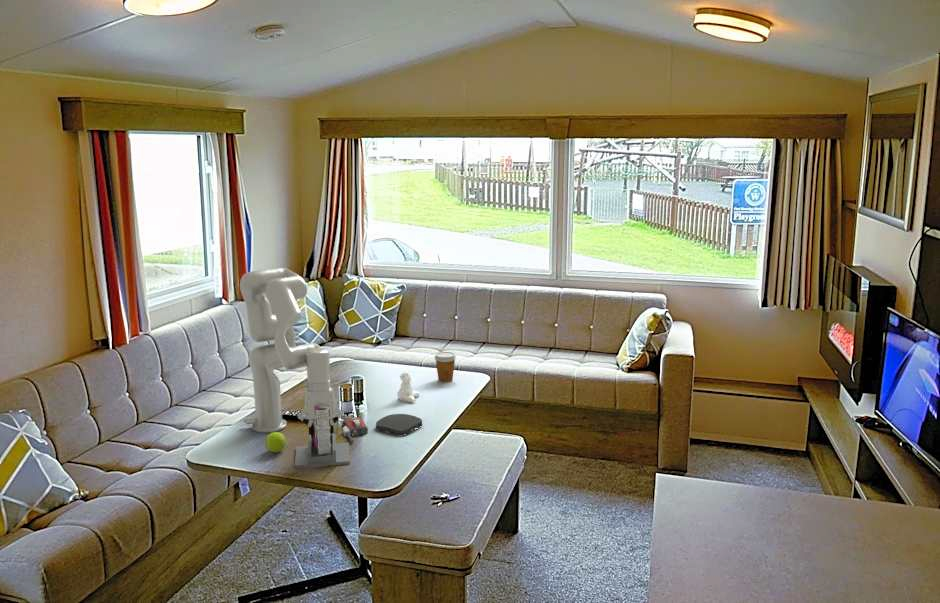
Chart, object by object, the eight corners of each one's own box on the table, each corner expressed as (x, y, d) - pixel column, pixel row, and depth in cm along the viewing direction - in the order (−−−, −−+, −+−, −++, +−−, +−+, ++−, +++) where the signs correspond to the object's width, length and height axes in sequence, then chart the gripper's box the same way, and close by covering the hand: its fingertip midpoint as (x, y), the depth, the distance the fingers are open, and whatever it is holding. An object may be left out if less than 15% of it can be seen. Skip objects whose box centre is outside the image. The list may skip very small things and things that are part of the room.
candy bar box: (312, 443, 264) (310, 398, 261) (326, 441, 266) (324, 396, 262) (317, 456, 254) (315, 409, 250) (332, 453, 255) (330, 407, 252)
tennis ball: (266, 456, 260) (264, 437, 259) (265, 449, 267) (264, 430, 265) (286, 454, 262) (285, 435, 261) (285, 446, 269) (284, 428, 267)
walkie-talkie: (337, 426, 288) (349, 445, 270) (337, 415, 288) (349, 434, 269) (360, 423, 292) (373, 442, 273) (359, 412, 291) (373, 430, 273)
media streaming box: (395, 418, 296) (395, 410, 296) (426, 425, 289) (426, 417, 288) (371, 430, 284) (371, 422, 283) (403, 438, 277) (403, 430, 276)
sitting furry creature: (415, 403, 311) (414, 375, 308) (394, 402, 312) (393, 374, 310) (420, 396, 320) (419, 368, 318) (400, 395, 321) (399, 367, 319)
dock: (294, 468, 251) (293, 454, 250) (296, 449, 267) (296, 435, 265) (349, 464, 254) (349, 450, 253) (348, 445, 270) (348, 431, 269)
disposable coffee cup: (459, 378, 343) (459, 352, 340) (450, 384, 334) (450, 358, 332) (440, 375, 347) (440, 350, 344) (431, 382, 338) (430, 356, 336)
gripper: (292, 390, 250) (295, 442, 254) (345, 387, 253) (347, 438, 257) (293, 383, 257) (296, 433, 261) (344, 380, 260) (346, 430, 264)
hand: (321, 435), depth 259 cm, fingers closed on candy bar box, 5 cm apart
